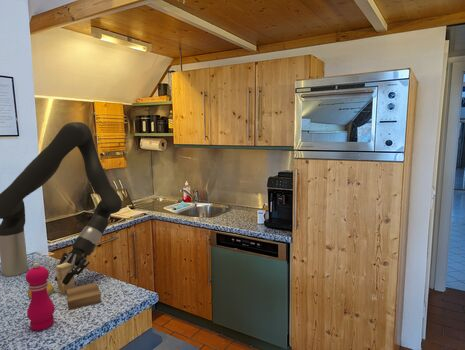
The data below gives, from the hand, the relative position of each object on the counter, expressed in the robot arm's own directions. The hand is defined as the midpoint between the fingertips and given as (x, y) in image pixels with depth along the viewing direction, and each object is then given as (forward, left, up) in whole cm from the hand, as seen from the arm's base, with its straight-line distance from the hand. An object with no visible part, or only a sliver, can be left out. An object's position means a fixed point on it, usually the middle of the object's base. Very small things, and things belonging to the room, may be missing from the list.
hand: (60, 282), depth 120 cm
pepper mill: (+19, -6, -4) cm, 20 cm away
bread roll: (-4, -7, -5) cm, 9 cm away
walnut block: (+9, +7, -4) cm, 12 cm away
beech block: (-1, +2, -4) cm, 5 cm away
